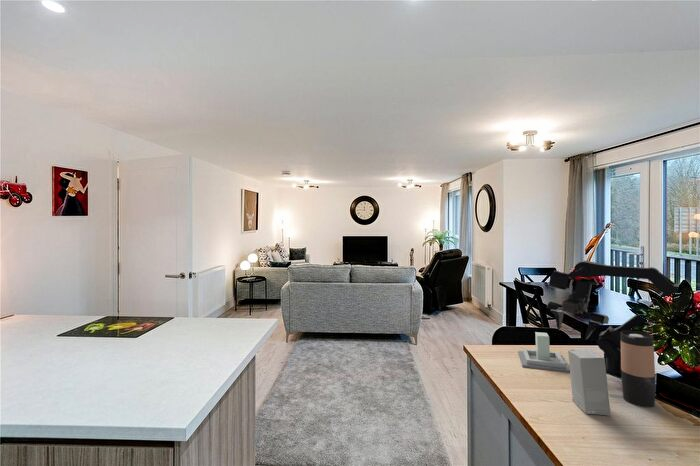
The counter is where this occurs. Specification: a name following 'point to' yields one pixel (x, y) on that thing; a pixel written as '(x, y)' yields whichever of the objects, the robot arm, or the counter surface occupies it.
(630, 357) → the travel mug
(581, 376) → the skincare box
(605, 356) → the robot arm
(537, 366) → the charging dock
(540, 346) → the rectangular block
